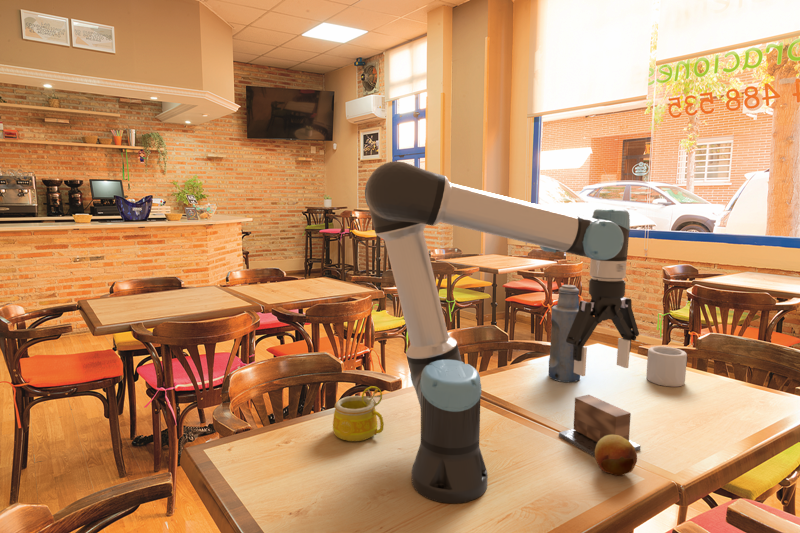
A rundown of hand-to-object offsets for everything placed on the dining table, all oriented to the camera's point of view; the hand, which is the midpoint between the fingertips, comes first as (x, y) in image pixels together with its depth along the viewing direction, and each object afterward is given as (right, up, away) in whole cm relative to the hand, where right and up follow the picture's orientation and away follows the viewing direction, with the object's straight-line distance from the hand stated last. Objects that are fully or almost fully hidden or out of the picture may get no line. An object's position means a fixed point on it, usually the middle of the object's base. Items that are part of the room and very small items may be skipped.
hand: (601, 370), depth 114 cm
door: (0, -16, +2) cm, 16 cm away
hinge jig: (0, -17, +2) cm, 18 cm away
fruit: (-2, -19, -11) cm, 22 cm away
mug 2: (+38, -12, +44) cm, 59 cm away
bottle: (+7, -12, +46) cm, 48 cm away
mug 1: (-56, -17, +6) cm, 59 cm away
